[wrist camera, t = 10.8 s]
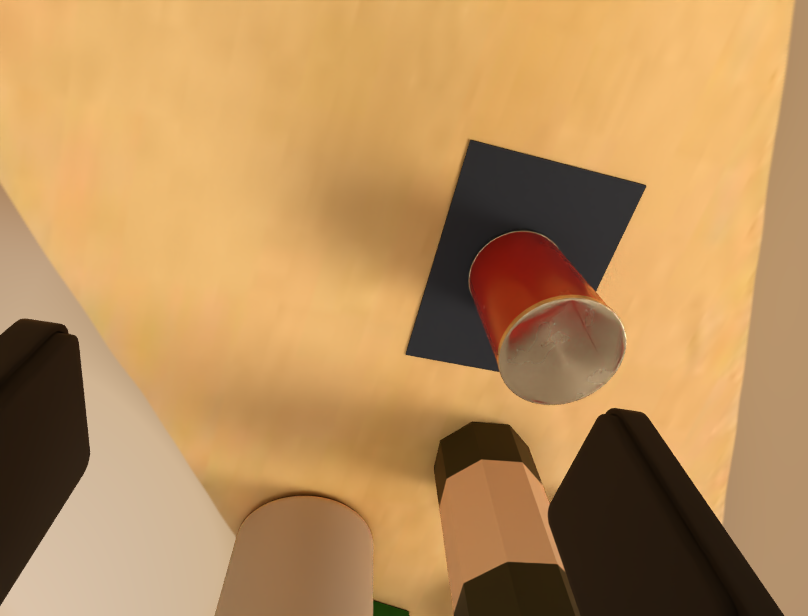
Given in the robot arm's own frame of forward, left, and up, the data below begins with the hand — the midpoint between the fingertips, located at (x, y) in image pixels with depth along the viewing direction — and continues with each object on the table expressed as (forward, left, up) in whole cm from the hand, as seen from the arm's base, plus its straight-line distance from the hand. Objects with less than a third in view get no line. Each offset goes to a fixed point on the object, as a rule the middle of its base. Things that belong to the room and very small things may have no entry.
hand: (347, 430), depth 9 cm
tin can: (+6, +12, -24) cm, 28 cm away
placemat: (+6, +12, -24) cm, 28 cm away
